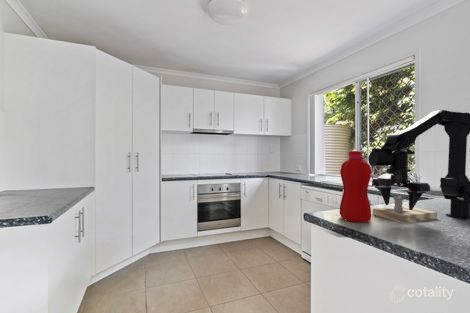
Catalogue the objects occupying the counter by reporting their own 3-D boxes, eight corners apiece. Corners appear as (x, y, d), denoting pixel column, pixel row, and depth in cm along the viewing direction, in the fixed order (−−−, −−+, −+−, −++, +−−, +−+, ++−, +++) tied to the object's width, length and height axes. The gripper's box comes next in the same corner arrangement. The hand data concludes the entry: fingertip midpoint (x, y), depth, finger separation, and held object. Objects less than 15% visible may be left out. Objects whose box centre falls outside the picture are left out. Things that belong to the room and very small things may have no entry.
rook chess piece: (407, 219, 87) (408, 197, 87) (394, 218, 88) (394, 197, 88) (402, 216, 92) (402, 195, 92) (389, 215, 93) (389, 195, 93)
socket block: (404, 211, 100) (404, 205, 100) (437, 218, 88) (437, 212, 88) (372, 214, 94) (372, 208, 94) (402, 222, 82) (402, 215, 82)
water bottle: (379, 223, 81) (380, 150, 81) (347, 223, 82) (347, 150, 82) (366, 217, 90) (367, 151, 90) (337, 216, 91) (337, 151, 91)
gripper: (361, 165, 96) (361, 203, 96) (408, 167, 79) (408, 214, 79) (382, 165, 100) (381, 202, 100) (431, 167, 82) (431, 212, 82)
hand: (398, 207), depth 90 cm, fingers open, 9 cm apart
